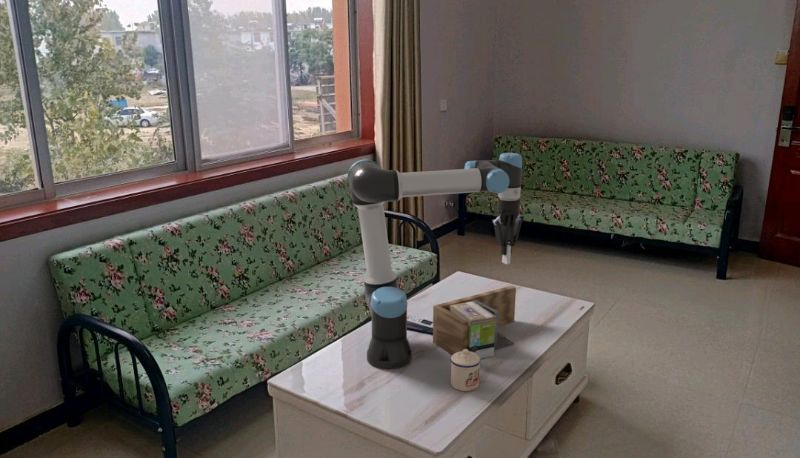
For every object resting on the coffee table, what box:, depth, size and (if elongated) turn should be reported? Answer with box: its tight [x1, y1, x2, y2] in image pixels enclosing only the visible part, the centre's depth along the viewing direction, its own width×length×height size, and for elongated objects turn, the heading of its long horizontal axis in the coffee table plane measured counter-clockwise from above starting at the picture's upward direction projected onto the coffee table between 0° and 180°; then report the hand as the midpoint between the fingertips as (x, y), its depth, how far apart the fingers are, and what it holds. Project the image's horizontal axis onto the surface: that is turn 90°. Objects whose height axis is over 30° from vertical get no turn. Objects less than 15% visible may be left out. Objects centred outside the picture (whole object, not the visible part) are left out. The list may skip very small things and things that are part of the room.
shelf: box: [432, 285, 517, 356], centre depth 223 cm, size 36×17×14 cm, turn 122°
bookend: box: [474, 300, 515, 351], centre depth 222 cm, size 9×12×14 cm
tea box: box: [450, 301, 496, 360], centre depth 216 cm, size 15×10×15 cm, turn 23°
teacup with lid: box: [450, 349, 482, 392], centre depth 195 cm, size 12×9×12 cm
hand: (506, 263), depth 224 cm, fingers closed
